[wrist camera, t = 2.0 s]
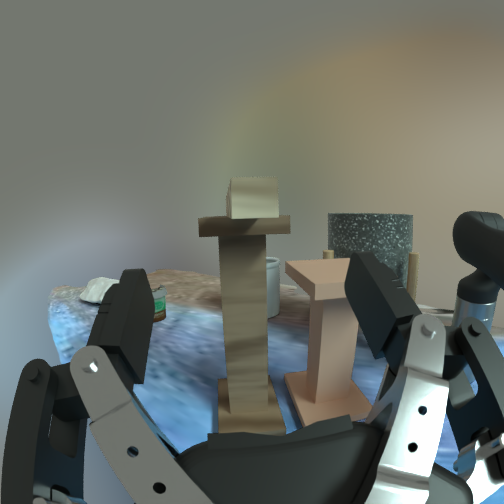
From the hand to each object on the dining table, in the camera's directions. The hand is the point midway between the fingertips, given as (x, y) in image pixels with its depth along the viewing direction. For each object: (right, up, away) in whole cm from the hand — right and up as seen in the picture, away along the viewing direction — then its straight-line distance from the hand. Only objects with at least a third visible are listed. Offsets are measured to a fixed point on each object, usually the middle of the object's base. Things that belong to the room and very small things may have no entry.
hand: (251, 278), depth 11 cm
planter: (+31, -21, +59) cm, 70 cm away
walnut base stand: (-1, -26, +32) cm, 41 cm away
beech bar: (-1, +5, +22) cm, 23 cm away
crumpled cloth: (-58, -19, +92) cm, 111 cm away
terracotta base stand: (+13, -25, +33) cm, 44 cm away
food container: (-30, -21, +74) cm, 83 cm away
